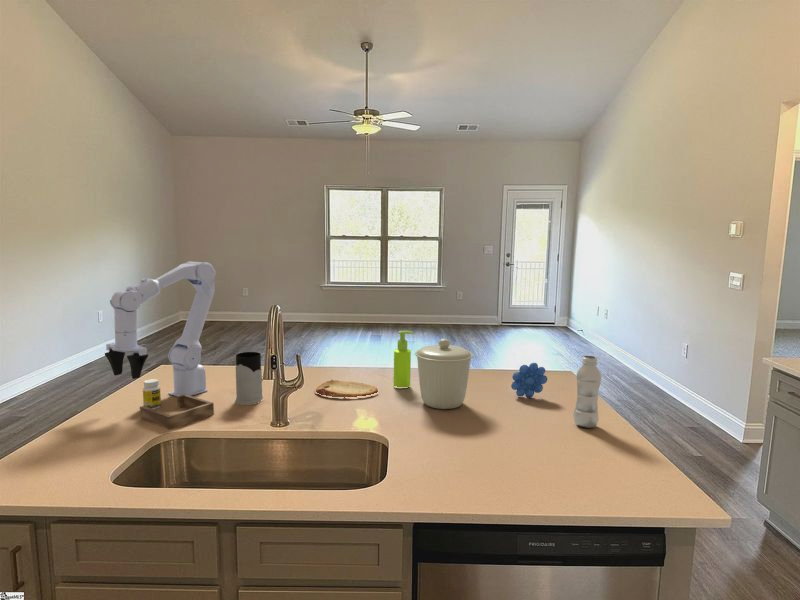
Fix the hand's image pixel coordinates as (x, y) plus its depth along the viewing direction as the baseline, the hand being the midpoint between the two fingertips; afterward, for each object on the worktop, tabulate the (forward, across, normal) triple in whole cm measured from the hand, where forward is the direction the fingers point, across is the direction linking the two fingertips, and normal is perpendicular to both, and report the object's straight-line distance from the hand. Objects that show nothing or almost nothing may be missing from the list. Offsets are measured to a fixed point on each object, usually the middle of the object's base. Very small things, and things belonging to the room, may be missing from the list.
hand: (126, 376), depth 147 cm
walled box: (+10, +18, +2) cm, 21 cm away
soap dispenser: (+8, +67, +56) cm, 87 cm away
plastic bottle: (+8, +128, +43) cm, 135 cm away
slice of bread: (+9, +52, +41) cm, 67 cm away
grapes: (+7, +109, +63) cm, 126 cm away
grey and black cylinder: (+9, +27, +24) cm, 38 cm away
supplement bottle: (+10, +5, +4) cm, 12 cm away
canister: (+8, +85, +44) cm, 96 cm away
